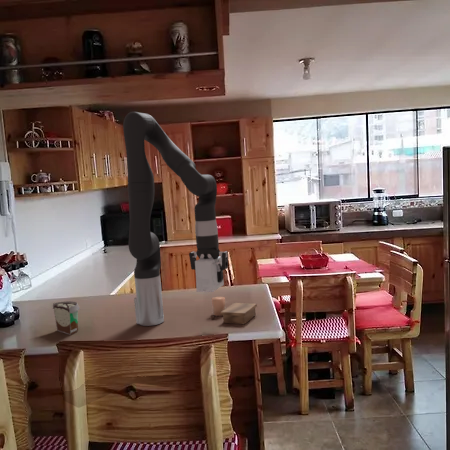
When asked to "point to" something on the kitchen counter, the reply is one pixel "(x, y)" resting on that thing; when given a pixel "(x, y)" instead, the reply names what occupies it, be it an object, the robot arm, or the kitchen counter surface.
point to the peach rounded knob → (218, 305)
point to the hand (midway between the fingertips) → (210, 281)
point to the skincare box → (207, 275)
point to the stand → (239, 313)
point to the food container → (66, 316)
